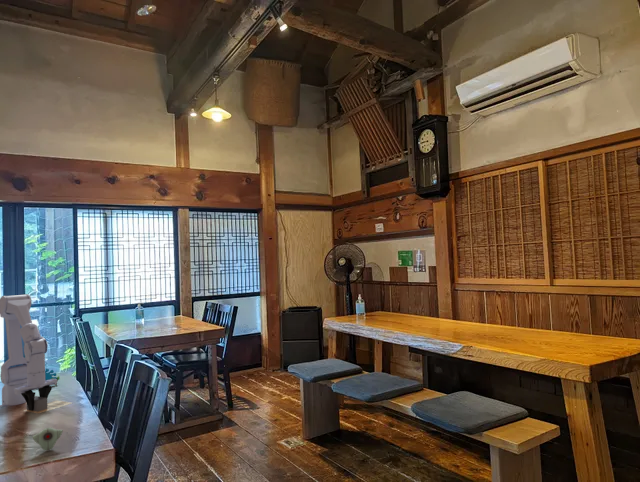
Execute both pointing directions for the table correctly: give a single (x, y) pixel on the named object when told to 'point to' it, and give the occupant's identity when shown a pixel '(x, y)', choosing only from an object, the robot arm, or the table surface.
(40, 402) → the block
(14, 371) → the robot arm
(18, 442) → the table surface
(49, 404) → the plank
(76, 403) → the table surface
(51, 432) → the robot head
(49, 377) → the gear
